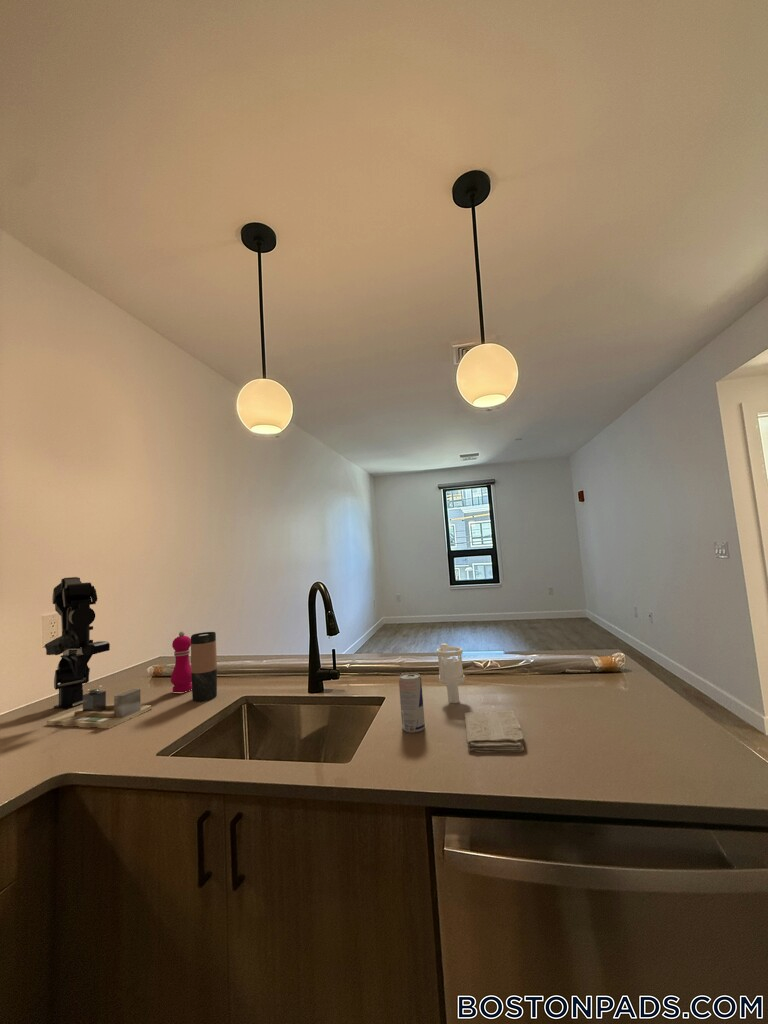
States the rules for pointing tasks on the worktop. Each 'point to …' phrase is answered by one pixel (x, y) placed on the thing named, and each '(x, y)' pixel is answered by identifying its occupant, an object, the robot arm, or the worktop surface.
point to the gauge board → (105, 712)
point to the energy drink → (411, 702)
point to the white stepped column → (450, 670)
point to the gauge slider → (93, 701)
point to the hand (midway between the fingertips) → (77, 677)
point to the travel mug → (203, 666)
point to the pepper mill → (181, 664)
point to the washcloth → (493, 732)
